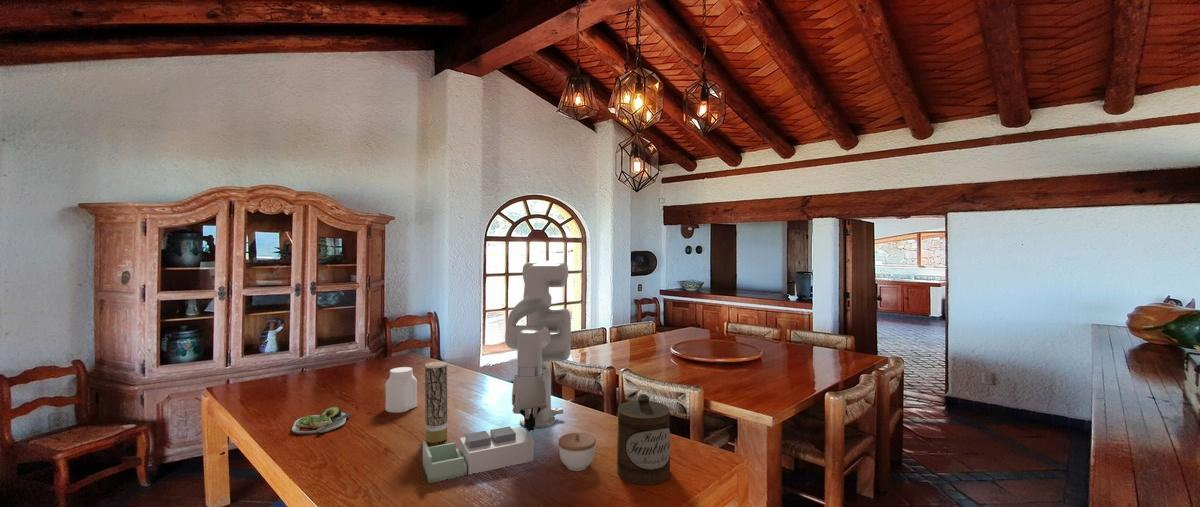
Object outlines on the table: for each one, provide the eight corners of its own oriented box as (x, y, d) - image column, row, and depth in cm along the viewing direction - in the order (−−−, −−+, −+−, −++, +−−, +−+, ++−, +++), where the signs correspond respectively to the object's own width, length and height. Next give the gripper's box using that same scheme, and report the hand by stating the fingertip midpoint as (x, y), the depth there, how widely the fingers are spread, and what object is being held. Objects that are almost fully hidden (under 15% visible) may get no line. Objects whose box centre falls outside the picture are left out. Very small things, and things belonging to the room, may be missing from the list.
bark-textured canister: (440, 445, 153) (440, 367, 153) (421, 443, 155) (420, 366, 154) (451, 436, 160) (451, 362, 160) (432, 435, 161) (432, 361, 161)
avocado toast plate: (347, 433, 164) (347, 420, 164) (285, 441, 157) (285, 427, 157) (352, 415, 182) (352, 402, 182) (297, 421, 175) (297, 409, 175)
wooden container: (632, 489, 126) (632, 406, 125) (608, 465, 139) (608, 390, 139) (680, 478, 132) (680, 399, 131) (653, 457, 145) (653, 384, 145)
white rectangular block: (520, 445, 153) (520, 427, 153) (533, 460, 143) (533, 440, 142) (459, 457, 144) (459, 438, 144) (468, 474, 134) (468, 453, 134)
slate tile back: (509, 432, 148) (509, 426, 148) (515, 439, 143) (515, 433, 143) (490, 436, 145) (490, 429, 145) (495, 443, 140) (495, 436, 140)
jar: (403, 401, 196) (403, 365, 196) (421, 404, 192) (421, 367, 192) (380, 410, 185) (380, 371, 185) (399, 414, 182) (399, 374, 181)
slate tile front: (485, 437, 145) (485, 430, 145) (490, 444, 139) (490, 437, 139) (465, 441, 142) (465, 434, 142) (469, 448, 137) (469, 441, 137)
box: (458, 458, 144) (457, 435, 144) (466, 475, 133) (466, 450, 133) (422, 465, 139) (422, 441, 139) (429, 483, 129) (428, 457, 129)
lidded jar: (567, 478, 132) (567, 444, 132) (552, 462, 141) (552, 430, 141) (602, 469, 137) (602, 437, 137) (585, 455, 146) (585, 424, 146)
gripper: (547, 365, 155) (547, 421, 155) (502, 370, 148) (502, 430, 148) (557, 370, 148) (557, 429, 148) (509, 376, 141) (509, 438, 141)
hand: (529, 429), depth 148 cm, fingers closed
